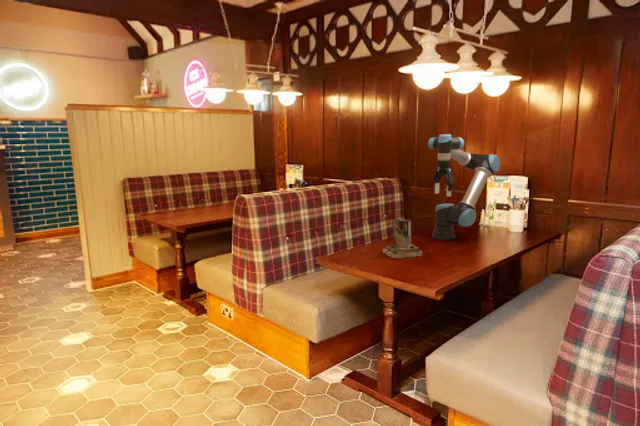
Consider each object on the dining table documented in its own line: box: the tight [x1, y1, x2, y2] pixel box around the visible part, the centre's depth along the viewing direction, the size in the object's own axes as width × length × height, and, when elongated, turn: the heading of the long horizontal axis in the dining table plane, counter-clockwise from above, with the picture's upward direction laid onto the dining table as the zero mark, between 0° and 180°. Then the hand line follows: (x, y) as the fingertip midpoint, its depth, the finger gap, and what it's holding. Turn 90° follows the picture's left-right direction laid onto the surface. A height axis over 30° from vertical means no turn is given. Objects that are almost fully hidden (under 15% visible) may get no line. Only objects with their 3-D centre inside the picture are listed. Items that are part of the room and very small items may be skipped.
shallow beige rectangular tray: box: [382, 243, 424, 259], centre depth 256 cm, size 14×19×4 cm
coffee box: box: [393, 218, 412, 249], centre depth 254 cm, size 9×6×16 cm
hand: (442, 194), depth 267 cm, fingers open, 13 cm apart
